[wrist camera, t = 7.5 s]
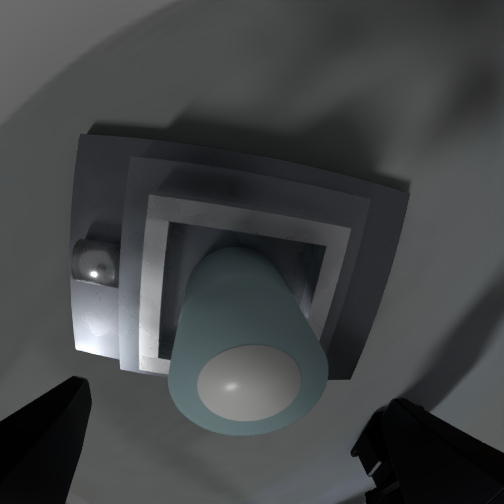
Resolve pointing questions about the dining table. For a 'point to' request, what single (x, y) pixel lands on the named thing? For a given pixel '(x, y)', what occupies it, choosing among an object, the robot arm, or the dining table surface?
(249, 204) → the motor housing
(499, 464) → the robot arm
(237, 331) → the cylinder
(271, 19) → the dining table surface
